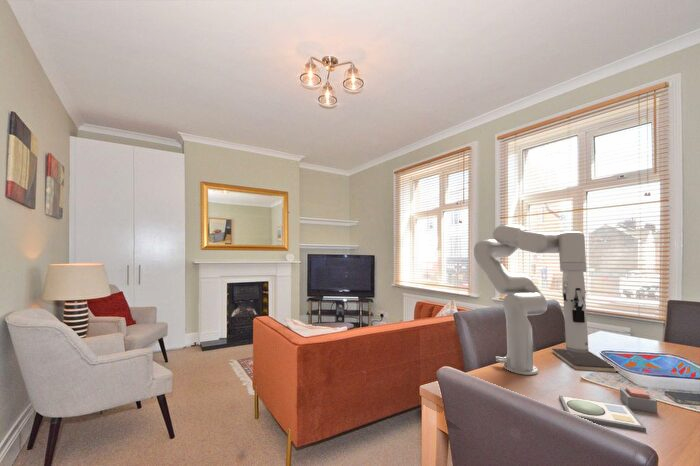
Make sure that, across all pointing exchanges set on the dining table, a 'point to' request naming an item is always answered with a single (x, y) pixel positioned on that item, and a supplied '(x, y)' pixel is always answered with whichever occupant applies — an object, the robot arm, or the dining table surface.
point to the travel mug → (575, 329)
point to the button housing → (638, 402)
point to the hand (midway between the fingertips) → (576, 319)
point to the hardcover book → (583, 360)
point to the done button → (637, 393)
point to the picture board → (602, 412)
